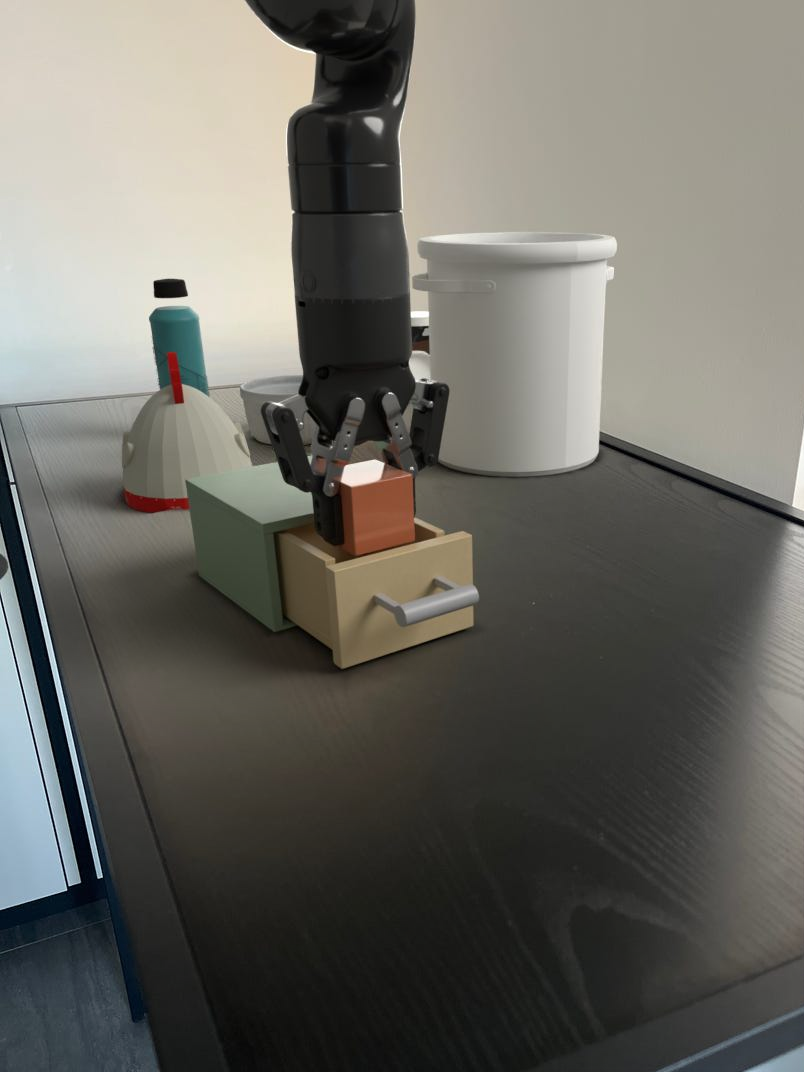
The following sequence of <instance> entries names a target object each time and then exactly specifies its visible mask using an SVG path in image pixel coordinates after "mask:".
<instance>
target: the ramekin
mask: <svg viewBox="0 0 804 1072" xmlns="http://www.w3.org/2000/svg"><path fill="white" fill-rule="evenodd" d="M302 378H303V374H288V375H287V374H285V375H272V376H264V377H260V378H255V379H251V380H247V381H244V382H242V383H241V384H240V386H239V396H240V398H241V399H242V402H243V409H244V413H245V416H246V421H247V425H248V426H247V427H248V429H249V431H250V433H251V435H252V437H254V439H255V440H256V441H258V442H260V443H262V444H268V445H272V444H271V441H270V438H269V435H268V432H267V429H266V427H265V424H264V421H263V418H262V415H261V407H262V405H263V404H264V403H265V402H268V401H271V402H274V403H279V402H282V401H284V400H286V399H289V398H291V397H293V396H296V395H298V391H299V387H300V385H301V382H302ZM303 422H304V428H303V429H302V430H301V431H300V435H301V438H302V441H303V444H304V446H305V445H306V446H307V445H311V444H312V440H313V436H314V432H315V427H316V423H315V422H314V420H313V419H312V418H311V417H310V415H309V414H308V413H307V412H305V414H304V416H303Z"/></svg>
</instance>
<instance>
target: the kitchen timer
mask: <svg viewBox="0 0 804 1072" xmlns="http://www.w3.org/2000/svg"><path fill="white" fill-rule="evenodd" d="M167 359H168V367H169V374H170V380H171V385H169V386H166V387H164V388H162V389H161V390H160V389H158V391H156V392H155V393H154V394H153V395H152V396H150V397H149V399H147V400H146V402H145V403H144V404H143V406H142V407H141V409H140V410H139V412H138V414H137V416H136V417H135V420H134V421H133V423H132V426H131V429H130V431H127V430H125V431H123V432H122V433H123V434H122V443H121V469H122V487H123V492H124V498H125V502H126V504H127V505H128V507H130V508H132V509H134V510H137V511H139V512H140V511H141V512H145V513H148V514H149V513H151V514H156V513H161V512H165V511H170V510H190V509H189V503H188V496H187V488H186V483H185V479H189V478H195V477H200V476H205V475H211V474H216V473H221V472H227V471H232V470H237V469H243V468H248V467H253V466H254V465H253V462H252V460H251V453H250V449H249V447H248V442H247V440H246V436H245V434H244V431H243V428H242V426H241V424H240V423H239V422H238V421H235V422H233V421H232V420H231V418H230V417H229V415H228V414H227V413H226V412H225V411H224V410H223V408H222V407H221V406H220V405H219V404H218V403H217V402H216V401H215V400H214V399H212V398H211V396H210V397H208V396H207V395H206V394H204V393H203V392H201V391H199V390H197V389H195V388H193V387H191V386H188V385H184V384H182V383H181V378H180V371H179V367H178V360H177V355H176V353H175V352H169V353H167Z"/></svg>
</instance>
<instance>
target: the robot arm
mask: <svg viewBox="0 0 804 1072" xmlns="http://www.w3.org/2000/svg"><path fill="white" fill-rule="evenodd" d="M244 2H245V4H246V5H247V6H248V8H249V9H250V10H251V11H252V13H253V14H254V16H256V18H257V19H258V20H259V21H260V22H261V23H262V24H263V26H265V28H266V29H267V30H269V32H270V33H272V34H273V35H274V36H275V37H276V38H277V39H278V40H280V41H281V42H283V43H284V44H286V45H288V46H289V47H291V48H294V49H295V50H298V51H300V52H301V51H302V52H305V53H310V54H314V55H315V63H314V65H315V66H314V77H313V88H312V97H311V99H310V102H309V103H308V104H305V105H304V106H302V107H299V108H298V109H297V110H295V111H294V112H293V113H292V114H291V115H290V117H289V119H288V122H287V125H286V133H285V147H286V148H285V150H286V161H287V163H286V164H287V174H288V185H289V197H290V209H291V211H292V212H291V232H290V233H291V234H290V258H291V259H290V261H291V271H292V283H293V293H294V294H293V295H294V307H295V317H296V330H297V342H298V353H299V360H300V364H301V369H302V375H303V378H302V382H301V385H300V387H299V391H298V395H296V396H293V397H291V398H289V399H286V400H284V401H282V402H279V403H274V402H271V401H268V402H265V403H264V404H263V405H262V407H261V415H262V418H263V421H264V424H265V427H266V429H267V432H268V435H269V438H270V441H271V444H270V445H271V447H272V451H273V453H274V456H275V459H276V462H278V465H279V468H280V471H281V474H282V477H283V480H284V481H285V483H287V484H289V485H291V486H294V487H296V488H298V489H299V490H301V491H303V492H305V493H308V492H311V494H312V500H313V512H314V520H315V521H314V524H315V530H316V532H317V534H318V535H320V536H321V537H323V539H324V541H326V542H327V543H329V544H331V545H333V546H338V545H343V544H344V526H343V512H342V498H341V495H339V494H337V493H338V491H339V487H340V483H341V479H342V475H343V471H344V467H345V465H349V464H350V461H351V459H352V455H353V450H354V447H357V446H361V445H363V444H364V443H367V442H369V441H370V442H373V444H374V445H375V446H376V447H377V448H378V450H379V452H380V454H381V457H382V460H383V463H385V464H388V465H390V466H393V467H395V468H398V469H400V470H403V471H405V472H408V473H410V474H412V478H413V504H414V517H415V516H416V514H417V503H416V502H417V501H416V477H417V476H418V474H419V472H421V471H422V470H423V469H425V468H427V467H434V466H436V465H437V463H438V457H439V451H440V445H441V440H442V434H443V428H444V422H445V416H446V410H447V404H448V398H449V392H450V390H449V387H448V385H447V384H445V383H441V382H438V381H434V380H430V379H426V378H422V379H421V380H415V378H414V376H413V374H412V372H411V370H410V367H409V359H410V357H411V355H412V332H411V312H412V309H411V308H412V307H411V306H412V305H411V284H410V283H411V282H410V281H411V279H410V277H411V276H410V275H411V274H410V256H409V255H410V254H409V243H408V238H407V231H406V227H405V217H404V211H402V210H403V209H404V197H403V192H404V191H403V170H402V155H401V153H402V152H401V143H400V136H401V129H402V124H403V119H404V115H405V109H406V104H407V98H408V91H409V84H410V76H411V72H412V71H411V70H412V63H413V58H414V57H413V56H414V48H415V39H416V28H417V27H416V25H417V16H416V12H417V11H416V0H244ZM410 403H411V406H412V415H411V420H410V426H409V432H408V428H407V425H406V422H405V420H404V418H403V416H404V413H405V411H406V410H407V407H408V406H409V404H410ZM305 412H307V413H308V414H309V415H310V417H311V418H312V419H313V420H314V422H315V423H316V427H315V432H314V436H313V440H312V444H310V453H311V456H312V460H311V464H310V463H309V460H308V457H307V456H308V454H307V450H306V448H305V445H304V444H303V441H302V438H301V435H300V431H301V430H302V429H303V428H304V422H303V416H304V414H305ZM333 442H334V443H333ZM415 518H416V517H415Z"/></svg>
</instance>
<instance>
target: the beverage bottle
mask: <svg viewBox="0 0 804 1072" xmlns="http://www.w3.org/2000/svg"><path fill="white" fill-rule="evenodd" d="M152 284H153V286H152V287H153V298H154V299H181V298H186V297H188V296H189V293H188V292H189V291H188V289H187V285H186V281H185V279H182V278H160V279H156V280H153V283H152ZM148 322H149V324H150V331H151V339H150V340H151V342H152V345H153V346H152V354H153V359H154V364H155V366H156V370H155V371H156V372H155V374H157V386H158V388H159V390H161V389H162V388H164V387H166V386H169V385H171V380H170V374H169V367H168V359H167V353H169V352H175V353H176V355H177V360H178V367H179V371H180V378H181V383H182V384H184V385H188V386H191V387H193V388H195V389H197V390H199V391H201V392H203V393H204V394H206V395H207V396H208V397H210V398H211V395H210V394H211V393H210V389H209V387H210V386H209V381H208V380H209V379H208V376H207V370H206V364H205V362H206V361H205V355H204V347H203V339H202V331H201V324H200V323H201V322H200V315H199V314H198V313H197V312H196V311H195V310H194V309H193V308H191V307H190V306H188V305H166V306H158V307H156V308H154V309H153V311H152V312H151V314H150V315H149V316H148Z"/></svg>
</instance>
